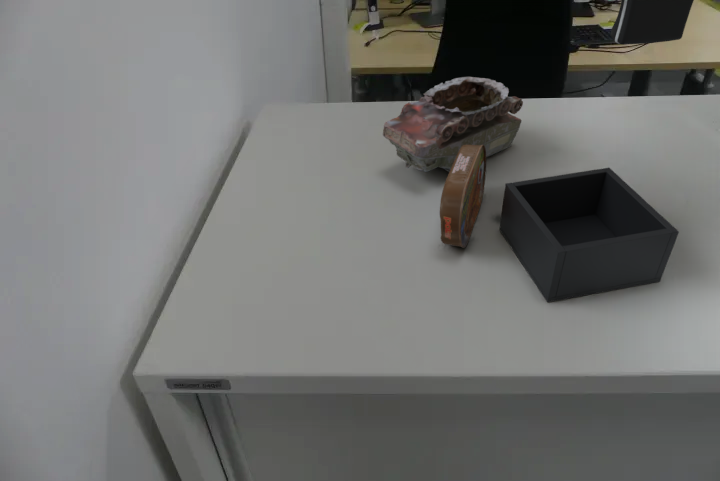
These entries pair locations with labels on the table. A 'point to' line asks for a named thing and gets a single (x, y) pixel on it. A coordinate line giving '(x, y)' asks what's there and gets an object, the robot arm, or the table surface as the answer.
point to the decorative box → (454, 122)
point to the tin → (463, 195)
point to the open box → (585, 233)
